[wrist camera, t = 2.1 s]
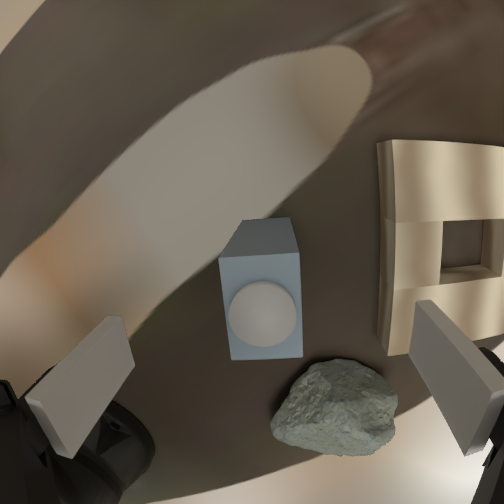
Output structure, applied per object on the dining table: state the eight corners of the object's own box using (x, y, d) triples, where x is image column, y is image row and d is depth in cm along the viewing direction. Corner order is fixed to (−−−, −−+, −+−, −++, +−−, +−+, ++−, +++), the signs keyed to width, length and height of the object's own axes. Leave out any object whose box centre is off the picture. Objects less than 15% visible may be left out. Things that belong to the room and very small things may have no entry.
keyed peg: (248, 286, 29) (229, 367, 17) (242, 220, 28) (215, 262, 15) (293, 283, 29) (303, 365, 17) (289, 216, 27) (300, 256, 15)
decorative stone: (368, 321, 29) (315, 383, 22) (424, 401, 27) (387, 474, 20) (292, 364, 38) (236, 412, 31) (341, 427, 36) (295, 481, 29)
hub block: (376, 335, 30) (387, 356, 26) (376, 143, 25) (391, 139, 21) (499, 314, 28) (518, 329, 24) (511, 151, 24) (534, 151, 20)
